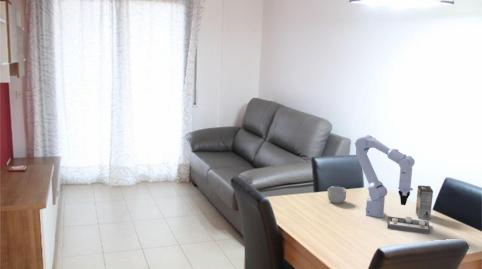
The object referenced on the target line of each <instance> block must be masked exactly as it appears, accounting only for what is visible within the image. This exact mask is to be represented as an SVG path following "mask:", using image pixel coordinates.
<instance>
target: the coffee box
mask: <svg viewBox="0 0 482 269" xmlns="http://www.w3.org/2000/svg"><path fill="white" fill-rule="evenodd" d="M416 192H417V193H416V203H415V214H416V216H417V218H418V219H419V220H420V219H422V220H431V213H432V204H433V198H434V197H433V196H434V190H433V189H432V187H431V185H417V191H416Z"/></svg>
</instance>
